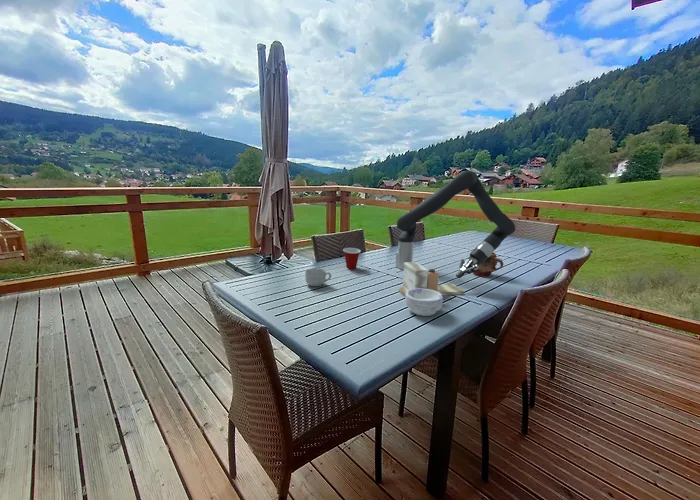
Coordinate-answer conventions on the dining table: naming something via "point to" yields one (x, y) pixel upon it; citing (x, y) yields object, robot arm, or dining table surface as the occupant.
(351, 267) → the plastic cup
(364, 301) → the dining table surface
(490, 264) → the brown ceramic mug
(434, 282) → the tan small carton
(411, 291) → the white bowl
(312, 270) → the teacup
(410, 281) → the press housing
